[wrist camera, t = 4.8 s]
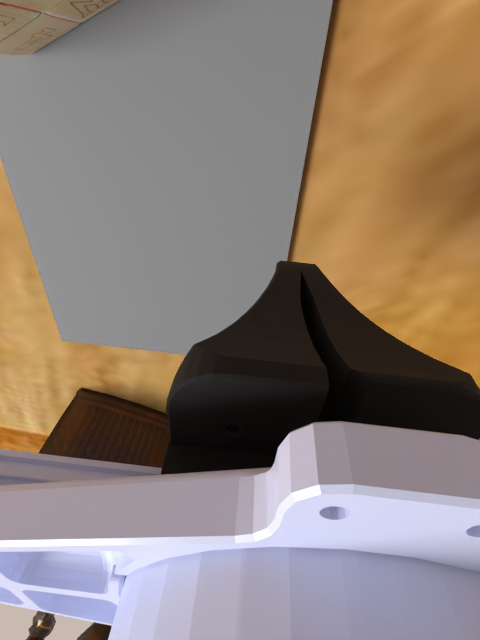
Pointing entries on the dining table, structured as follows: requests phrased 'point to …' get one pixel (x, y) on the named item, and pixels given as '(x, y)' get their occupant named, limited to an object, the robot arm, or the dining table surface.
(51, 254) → the mat
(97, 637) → the coffee grinder
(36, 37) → the stack of blocks
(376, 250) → the dining table surface
